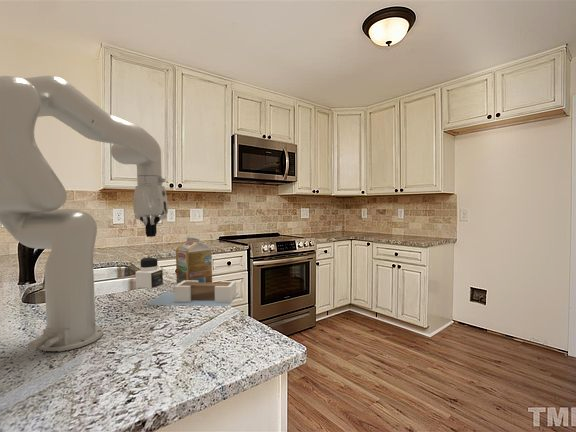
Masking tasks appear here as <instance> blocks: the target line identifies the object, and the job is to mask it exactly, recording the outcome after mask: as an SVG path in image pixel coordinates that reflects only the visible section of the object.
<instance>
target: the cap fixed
mask: <svg viewBox="0 0 576 432" xmlns="http://www.w3.org/2000/svg"><path fill="white" fill-rule="evenodd" d="M219 283H230V284H229V285H228V286H215V302H231V301H232V300H233V299H236V298H237V296H236V293H237V281H236V280H231V281H230V280H229V281H228V280H221V281H220V282H219ZM233 301H234V300H233ZM233 301H232V302H233ZM232 302H231V303H232Z"/></svg>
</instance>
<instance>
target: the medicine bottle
mask: <svg viewBox="0 0 576 432" xmlns="http://www.w3.org/2000/svg"><path fill="white" fill-rule="evenodd" d="M163 275H164V274H163V268H158V258H157V257H153V256H148V257H143V258H142V259H140V270H137V271H135V288H137V289H139V288H140V289H153V288H156V287H158V286H161V285H163V284H164V277H163Z"/></svg>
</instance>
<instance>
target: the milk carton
mask: <svg viewBox="0 0 576 432" xmlns="http://www.w3.org/2000/svg"><path fill="white" fill-rule="evenodd" d="M186 239H187V240H186V241H184V242H183V243H181V244H180V245H179V246H177V248H176V249H175V263H176V264H175V267H176V271H175V272H176V275H175V276H176V283H177V284H179V283H181V282H182V281H184V280H190V281H198V283H213V263H212V262H213V260H212V259H213V257H212V248H211V247H209V246H208V245H207V244H204V243H203V242H201V239H200V238H197V237H189V236H187V238H186Z"/></svg>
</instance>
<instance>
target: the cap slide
mask: <svg viewBox="0 0 576 432" xmlns="http://www.w3.org/2000/svg"><path fill="white" fill-rule="evenodd" d="M184 282H194V283H198V281H190V280H184V281H182V282H181V283H177V284H175V285H174V286H173V292H174V302H190V301H191V286H180V285H181V284H183V283H184Z"/></svg>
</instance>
